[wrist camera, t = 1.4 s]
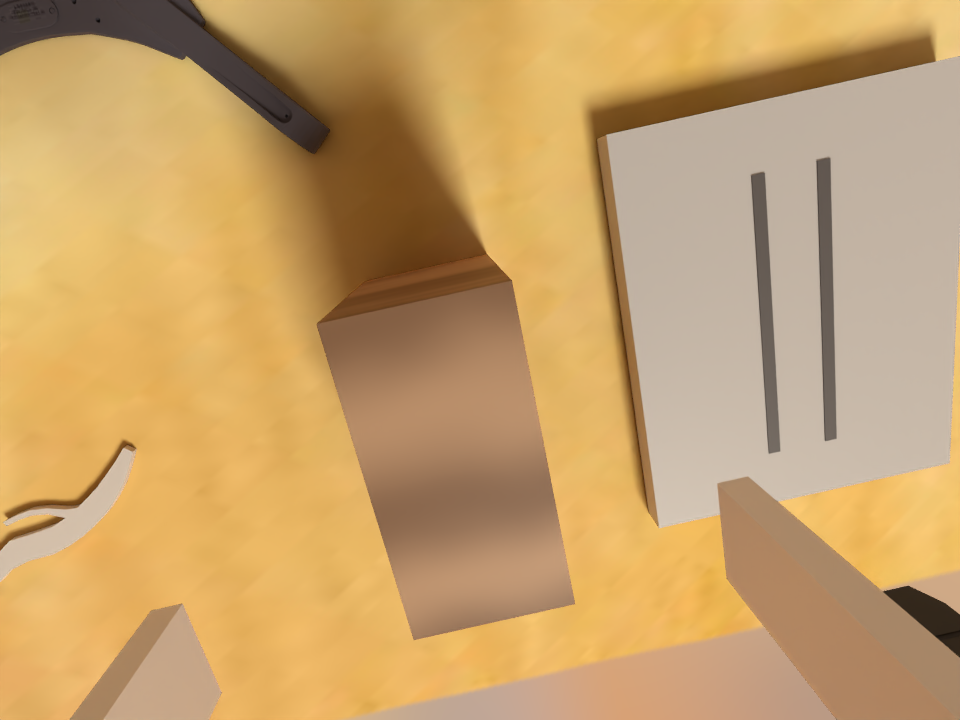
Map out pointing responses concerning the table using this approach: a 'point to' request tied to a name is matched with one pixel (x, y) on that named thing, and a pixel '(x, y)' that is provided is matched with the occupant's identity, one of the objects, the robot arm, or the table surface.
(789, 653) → the robot arm
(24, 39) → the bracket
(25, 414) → the table surface
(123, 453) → the pliers
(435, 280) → the block
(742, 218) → the board
